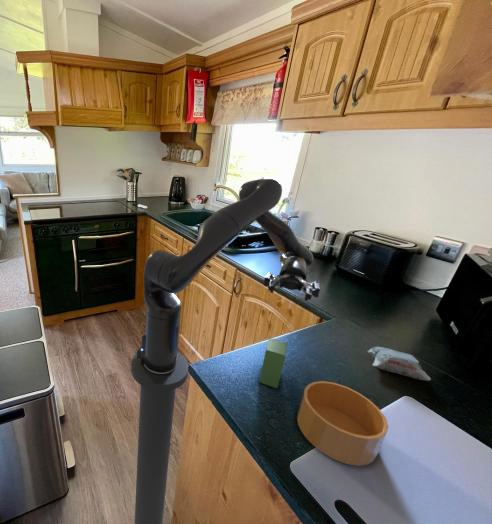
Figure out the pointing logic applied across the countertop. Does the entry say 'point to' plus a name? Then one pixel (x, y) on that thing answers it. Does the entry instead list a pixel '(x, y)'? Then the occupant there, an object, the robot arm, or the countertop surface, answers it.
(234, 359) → the countertop surface
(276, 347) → the green block
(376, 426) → the orange round bowl
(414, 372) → the packaged food
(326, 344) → the countertop surface
